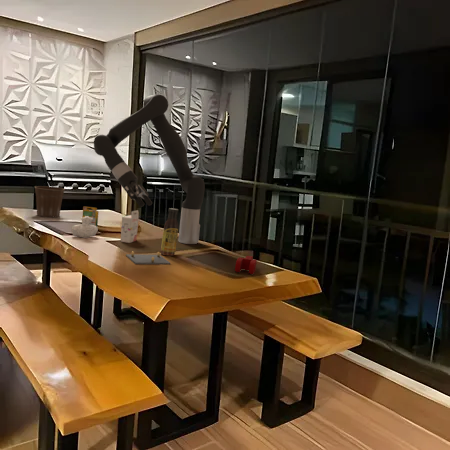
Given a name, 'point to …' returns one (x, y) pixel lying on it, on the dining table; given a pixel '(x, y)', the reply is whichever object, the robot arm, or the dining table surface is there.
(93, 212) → the crayon box
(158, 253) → the brass pins
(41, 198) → the plant pot
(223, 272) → the dining table surface
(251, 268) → the mechanical linkage
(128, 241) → the ink cartridge box
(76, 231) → the bust
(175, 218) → the sauce bottle
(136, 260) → the slate pad
